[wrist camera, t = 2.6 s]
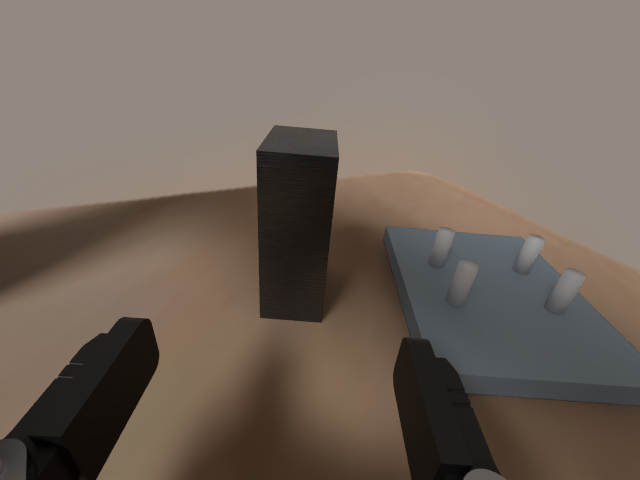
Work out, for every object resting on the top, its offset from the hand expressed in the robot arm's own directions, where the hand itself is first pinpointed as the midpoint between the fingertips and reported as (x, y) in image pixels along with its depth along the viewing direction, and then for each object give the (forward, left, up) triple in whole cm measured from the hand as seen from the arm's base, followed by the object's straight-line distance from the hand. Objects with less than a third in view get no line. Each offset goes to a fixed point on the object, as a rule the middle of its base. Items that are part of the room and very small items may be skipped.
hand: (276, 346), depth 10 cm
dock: (+12, +14, -7) cm, 20 cm away
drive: (-2, +11, -7) cm, 13 cm away
